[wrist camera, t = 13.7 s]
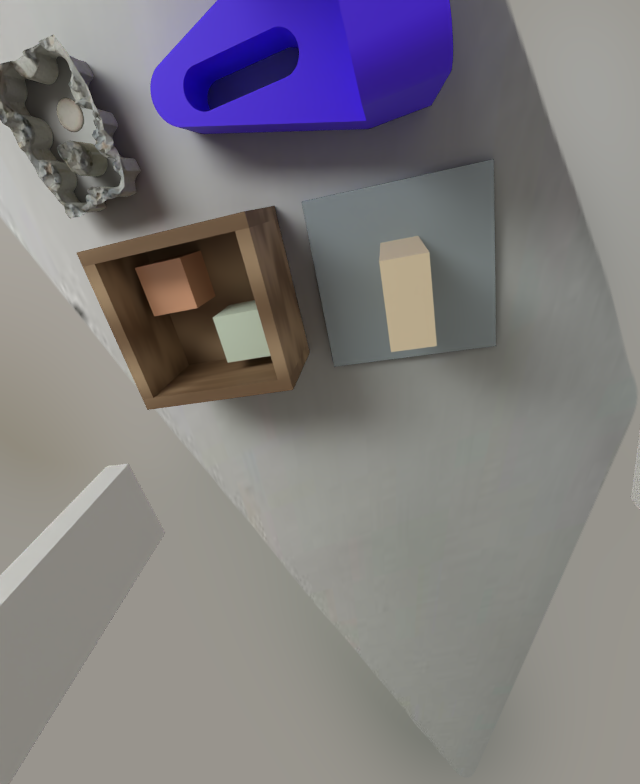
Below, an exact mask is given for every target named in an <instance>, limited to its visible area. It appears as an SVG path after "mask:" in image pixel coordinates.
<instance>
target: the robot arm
mask: <svg viewBox="0 0 640 784" xmlns="http://www.w3.org/2000/svg"><path fill="white" fill-rule="evenodd" d="M631 499H632V501H633V502H634V503H635V504H636V506H637V507H638V508H639V509H640V432H639V440H638V448H637V456H636V464H635V472H634V480H633V487H632V496H631ZM164 534H165V531H164V529H163V527H162V525H161V524H160V522H159V520H158V518H157V516H156V514H155V512H154V511H153V509H152V507H151V505H150V503H149V501H148V499H147V497H146V496H145V493H144V492H143V490H142V488H141V486H140V484H139V483H138V480H137V478H136V477H135V475H134V473H133V471H132V469H131V467H130V465H129V464H122V465H113V466H106V468H104V469H103V470H102V471H101V472H100V473H99V475H97V476H96V478H95V479H94V480H93V481H92V482H91V483H90V484H89V485H88V486H87V487H86V488H85V489H84V490H83V491H82V492H81V493H80V494H79V495H78V496H77V497H76V498H75V499H74V500H73V501H72V502H71V503H70V504H69V505H68V506H67V507H66V508H65V509H64V510H63V511H62V512H61V514H60V515H59V516H58V517H57V518H56V519H55V520H54V521H53V522H52V523H51V524H50V525H49V526H48V527H47V528H46V529H45V530H44V531H43V532H42V533H41V534H40V535H39V536H38V537H37V538H36V539H35V540H34V541H33V542H32V543H31V544H30V546H28V548H26V549H25V550H24V552H23V553H22V554H21V555H20V556H19V557H18V558H17V559H16V560H15V561H14V562H13V563H12V564H11V565H10V566H9V567H8V568H7V569H6V570H5V571H4V572H3V573H2V574H1V575H0V784H9V783H10V782H11V781H12V779H13V777H14V776H15V774H16V773H17V771H18V769H19V768H20V766H21V764H22V763H23V761H24V760H25V758H26V756H27V755H28V753H29V752H30V750H31V748H32V747H33V745H34V744H35V742H36V740H37V739H38V737H39V736H40V734H41V732H42V731H43V729H44V727H45V726H46V724H47V723H48V721H49V719H50V718H51V716H52V714H53V713H54V711H55V710H56V708H57V707H58V705H59V703H60V702H61V700H62V698H63V697H64V695H65V694H66V692H67V690H68V689H69V687H70V686H71V684H72V682H73V681H74V679H75V677H76V676H77V674H78V673H79V671H80V669H81V668H82V666H83V665H84V663H85V661H86V660H87V658H88V656H89V655H90V653H91V652H92V650H93V649H94V647H95V645H96V644H97V642H98V640H99V639H100V637H101V636H102V634H103V632H104V631H105V629H106V627H107V626H108V624H109V623H110V621H111V620H112V618H113V616H114V615H115V613H116V611H117V610H118V608H119V607H120V605H121V603H122V602H123V600H124V599H125V597H126V595H127V594H128V592H129V591H130V589H131V587H132V586H133V584H134V582H135V581H136V579H137V577H138V576H139V574H140V573H141V571H142V570H143V568H144V566H145V565H146V563H147V562H148V560H149V558H150V557H151V555H152V553H153V552H154V550H155V548H156V547H157V545H158V544H159V542H160V540H161V539H162V537H163V536H164Z"/></svg>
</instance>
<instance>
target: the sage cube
mask: <svg viewBox="0 0 640 784" xmlns="http://www.w3.org/2000/svg"><path fill="white" fill-rule="evenodd" d="M213 320H214V323H215V326H216V329H217V332H218V335H219V338H220V341H221V344H222V347H223V350H224V353H225V356H226V359H227V362H228V363H229V362H235V361H241V360H248V359H254V358H260V357H267V356H271V355H270V352H269V348H268V345H267V341H266V338H265V334H264V331H263V327H262V324H261V320H260V317H259V313H258V310H257V306H256V303H255V300H253V301H248V302H243V303H237V304H232V305H229V306H227V307H226V308H225V309H223V310H222V311H221V312H220V313H218V314H217V315H216V316H214V317H213Z"/></svg>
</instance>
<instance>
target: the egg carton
mask: <svg viewBox="0 0 640 784" xmlns="http://www.w3.org/2000/svg"><path fill="white" fill-rule="evenodd" d="M23 54H24V56H22V57H20V58H19V59H18V60H16V61H10V62H6V63H2V64H0V120H1V121H2V123H3V124H5V125H6V126H8V127H10V129H11V130H12V132H13V134H14V136H15V138H16V140H17V143H18V145H19V147H20V148H21V149H22V150H23V151H24V152H25V153H26V154H27V156H28V158H29V159H30V161H31V163H32V164H33V166H34V167H35V169H36V171H37V174H38V176H39V177H40V179H41V180H42V181H43V182H44V184H45V185H46V186H47V187H48V189H49V190H50V191H51V192H52V193H53V194H54V195H55V196H56V198H57V199H58V201H59V202H60V203H61V204H63V205H64V207H65V212H66V214H67V215H68V217H70V218H73V217H80V216H82V215H84V214H85V213H86V212H96V211H97V212H99V211H101V210H103V209H105V208H106V205H105V201H106V200H107V199H113V198H116V197H117V196H131V195H133V194H135V193H136V192H137V191H136V187H135V179H136V176H137V175H138V173H139V172H140V168H139V166H138V164H137V162H136V160H135V159H132V158H123V157H122V156H120V155H119V153H118V151H117V149H116V148H115V147H114V144H113V142H114V141H113V134H114V132H115V130H116V129H117V128H118V124H117V122H116V120H115V118H114V116H113V114H112V113H111V112H107V111H103V110H99V109H97V108H96V106H95V104H94V102H93V99H92V96H91V93H90V91H89V84H90V81H91V80H92V79H93V78H94V77H93V74H92V72H91V70H90V68H89V66H88V64H87V63H86V62H84V61H80V60H78V59H75V58H73V57H69V55H68V53H67V52H66V50H65V49H64V47H63V46H62V45H61V44H60V43H59V42H58V40H57V39H56V38H55V36H54V35H52V36H50V37H48V38H46V39H43V40H41V41H39V44H38V45H36V46H34V47H33V48H30V49H27V50H24V51H23ZM59 56H61V57H63V58H65V59H66V61H67V62H68V64H69V68H70V70H71V72H72V76H71V79H70V83H69V84H68V85H69V86H70V89H71V92H72V94H73V96H74V98H75V100H76V102H75V101H74V100H72V99H69V98H63V99H61V100H60V101H59V102H58V105H57V108H56V110H57V116H58V119H59V121H60V123H61V125H63V127H64V128H66V129H67V130H69V131H71V132H77V131H79V130H80V129H81V128H82V125H83V114H82V110H81V108H80V107H82V108H88V109H92V110H93V115H94V117H95V120H94V124H95V126H96V130H94V132H93V134H92V136H93V137H94V139H95V140H96V144H95V145H94V144H89V143H83V142H75V141H67V142H65V143H63V144H60V145H59V146H58V147H57V150H58V153H59V156H60V157H61V158H62V159H63V160H64V161H65V162H66V163H64V162H60V161H57V159H56V158H55V157H54V155H53V154H52V153H51V151H50V150H49V149H50V148H51V146H52V144H53V134H52V131H51V129H50V127H49V126H48V124H47V123H46V122H45V121H44V120H42V119H40V118H37V117H32V116H30V114H29V112H28V111H27V109H26V106H25V101H26V99H27V87H26V83H25V79H26V78H27V79H30V80H33V81H36V82H39V83H43V84H46V85H51V84H53V83H54V82H55V81H56V79H57V77H58V64H57V61H56V58H57V57H59ZM79 106H80V107H79ZM96 117H98V118H99V119H100V121H97V120H96ZM106 157H107V158H114V159H115V162H113V164H114V167H113V169H114V170H115V172H118V173H119V174H120V176H121V180H120V185H119V186H118V187H91V188H89V189H88V193H89V195H87V196H86V201H87V203H80V202H79V200H78V199H77V198H76V196H75V194H74V192H73V191H74V189H75V188H76V186H77V177H76V174H78V175H81V176H96V177H97V176H101V175H103V174H104V173H105V172H106V170H107V165H108V161H107V158H106Z"/></svg>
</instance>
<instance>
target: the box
mask: <svg viewBox="0 0 640 784" xmlns="http://www.w3.org/2000/svg"><path fill="white" fill-rule="evenodd" d="M200 250H201V253H202V256H203V259H204V262H205V265H206V268H207V271H208V274H209V277H210V281H211V284H212V287H213V290H214V293H215V297H214V298H212V299H211V300H209V301H208V302H206V303H204V304H203V305H201V306H200V307H198V308H195V309H190V310H185V311H180V312H175V313H170V314H165V315H159V316H154V315H153V312H152V310H151V307H150V305H149V302H148V300H147V297H146V295H145V292H144V290H143V287H142V285H141V282H140V280H139V277H138V275H137V272H136V270H135V268H136V267H139V266H142V265H145V264H148V263H151V262H154V261H157V260H161V259H165V258H169V257H174V256H178V255H182V254H187V253H191V252H196V251H200ZM77 255H78V257H79V259H80V262H81V264H82V266H83V268H84V270H85V273H86V275H87V277H88V279H89V281H90V284H91V286H92V288H93V290H94V292H95V295H96V297H97V299H98V301H99V304H100V306H101V308H102V310H103V312H104V315H105V317H106V319H107V321H108V323H109V326H110V328H111V330H112V332H113V334H114V337H115V339H116V341H117V343H118V346H119V348H120V350H121V352H122V354H123V357H124V359H125V361H126V363H127V365H128V368H129V370H130V372H131V374H132V376H133V379H134V381H135V383H136V385H137V388H138V390H139V392H140V394H141V396H142V398H143V400H144V403H145V405H146V407H147V409H148V410H149V409H156V408H164V407H171V406H178V405H186V404H193V403H200V402H208V401H215V400H222V399H229V398H237V397H244V396H251V395H259V394H266V393H273V392H281V391H288V390H293V389H294V387H295V384H296V382H297V380H298V378H299V375H300V373H301V371H302V369H303V366H304V364H305V362H306V360H307V357H308V355H309V353H310V351H309V347H308V343H307V339H306V335H305V331H304V326H303V322H302V318H301V314H300V310H299V306H298V302H297V298H296V293H295V289H294V285H293V281H292V277H291V273H290V269H289V265H288V260H287V256H286V252H285V248H284V244H283V240H282V236H281V231H280V227H279V223H278V219H277V215H276V211H275V207H274V206H271V207H266V208H260V209H255V210H250V211H244V212H240V213H236V214H232V215H228V216H224V217H220V218H216V219H212V220H208V221H204V222H200V223H195V224H191V225H187V226H183V227H179V228H175V229H171V230H167V231H163V232H159V233H155V234H151V235H147V236H143V237H138V238H134V239H130V240H126V241H122V242H118V243H114V244H110V245H106V246H102V247H98V248H94V249H90V250H86V251H82V252H77ZM253 300H255V303H256V306H257V310H258V313H259V317H260V320H261V324H262V327H263V331H264V334H265V338H266V341H267V345H268V348H269V352H270V355H271V356H267V357H260V358H254V359H248V360H241V361H235V362H229V363H228V362H227V359H226V356H225V353H224V350H223V347H222V344H221V341H220V338H219V335H218V332H217V329H216V326H215V323H214V320H213V317H214V316H216V315H217V314H218V313H220V312H221V311H222V310H223V309H225V308H226V307H227V306H229V305H232V304H237V303H243V302H248V301H253Z"/></svg>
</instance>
